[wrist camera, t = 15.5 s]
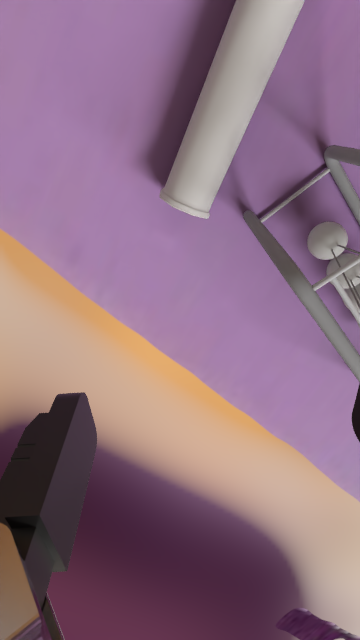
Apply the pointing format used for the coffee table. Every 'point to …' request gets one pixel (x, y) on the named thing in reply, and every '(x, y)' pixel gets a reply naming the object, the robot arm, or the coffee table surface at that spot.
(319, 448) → the coffee table surface
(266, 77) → the tube
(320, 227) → the newton's cradle
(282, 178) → the coffee table surface
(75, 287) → the coffee table surface
